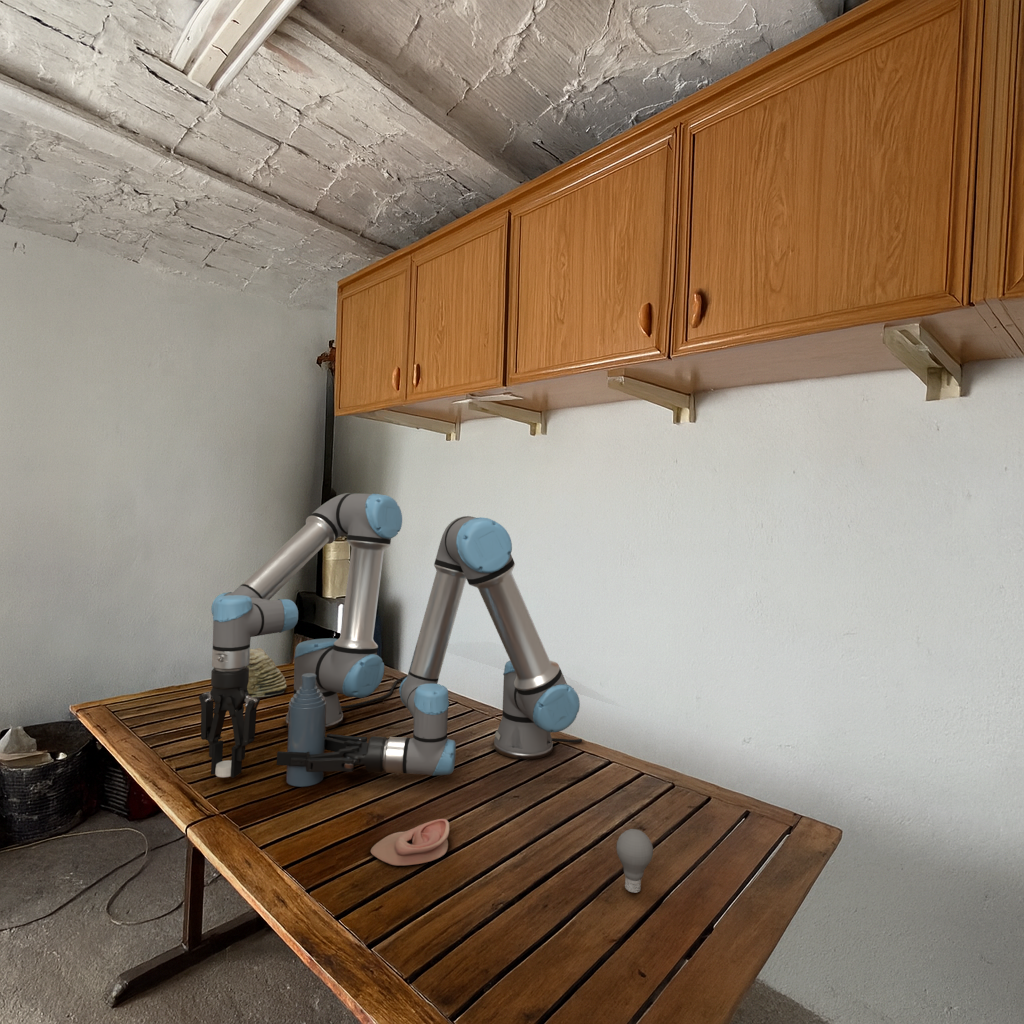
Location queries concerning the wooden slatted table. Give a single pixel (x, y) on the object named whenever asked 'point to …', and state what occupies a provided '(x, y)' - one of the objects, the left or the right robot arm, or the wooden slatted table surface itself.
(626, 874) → the light bulb
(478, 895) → the wooden slatted table surface
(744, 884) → the wooden slatted table surface
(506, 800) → the wooden slatted table surface
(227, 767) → the cap
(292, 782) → the bottle
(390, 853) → the anatomical model
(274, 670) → the fossil
